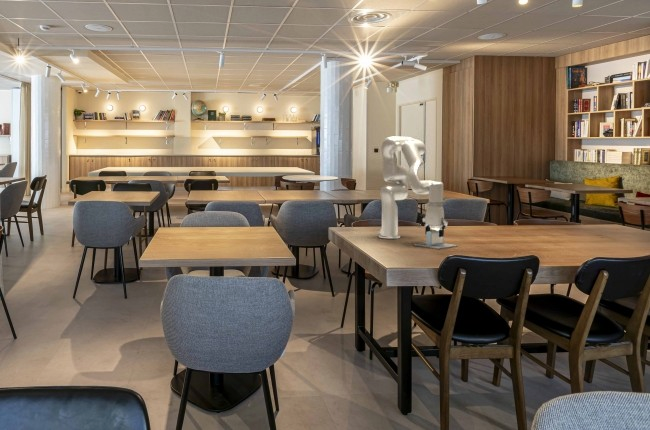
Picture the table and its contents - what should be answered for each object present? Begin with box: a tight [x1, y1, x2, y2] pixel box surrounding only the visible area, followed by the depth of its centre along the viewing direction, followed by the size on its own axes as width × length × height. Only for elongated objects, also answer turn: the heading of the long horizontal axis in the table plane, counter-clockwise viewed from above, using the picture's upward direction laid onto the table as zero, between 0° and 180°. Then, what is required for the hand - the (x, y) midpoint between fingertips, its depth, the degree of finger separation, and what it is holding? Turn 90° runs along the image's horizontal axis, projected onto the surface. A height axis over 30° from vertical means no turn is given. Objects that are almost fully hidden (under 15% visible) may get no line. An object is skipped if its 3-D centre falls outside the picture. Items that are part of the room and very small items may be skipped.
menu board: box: [425, 230, 445, 246], centre depth 344 cm, size 3×11×8 cm, turn 129°
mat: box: [412, 242, 458, 250], centre depth 345 cm, size 18×16×1 cm
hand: (434, 235), depth 345 cm, fingers open, 9 cm apart
